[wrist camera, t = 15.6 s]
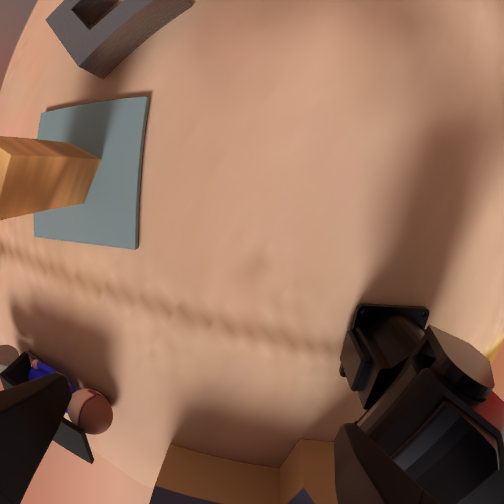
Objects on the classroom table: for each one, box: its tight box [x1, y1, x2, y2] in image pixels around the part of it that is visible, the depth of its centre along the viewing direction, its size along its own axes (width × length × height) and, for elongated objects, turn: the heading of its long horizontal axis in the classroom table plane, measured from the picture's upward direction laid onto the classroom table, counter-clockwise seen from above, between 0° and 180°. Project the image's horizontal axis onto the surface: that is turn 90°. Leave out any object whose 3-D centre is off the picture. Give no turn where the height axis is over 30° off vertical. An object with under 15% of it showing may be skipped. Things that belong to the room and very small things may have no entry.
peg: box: [0, 136, 101, 220], centre depth 14 cm, size 4×4×9 cm
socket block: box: [46, 0, 192, 79], centre depth 14 cm, size 9×9×4 cm
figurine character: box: [0, 345, 113, 464], centre depth 21 cm, size 7×8×15 cm
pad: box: [34, 96, 150, 250], centre depth 18 cm, size 11×11×1 cm
